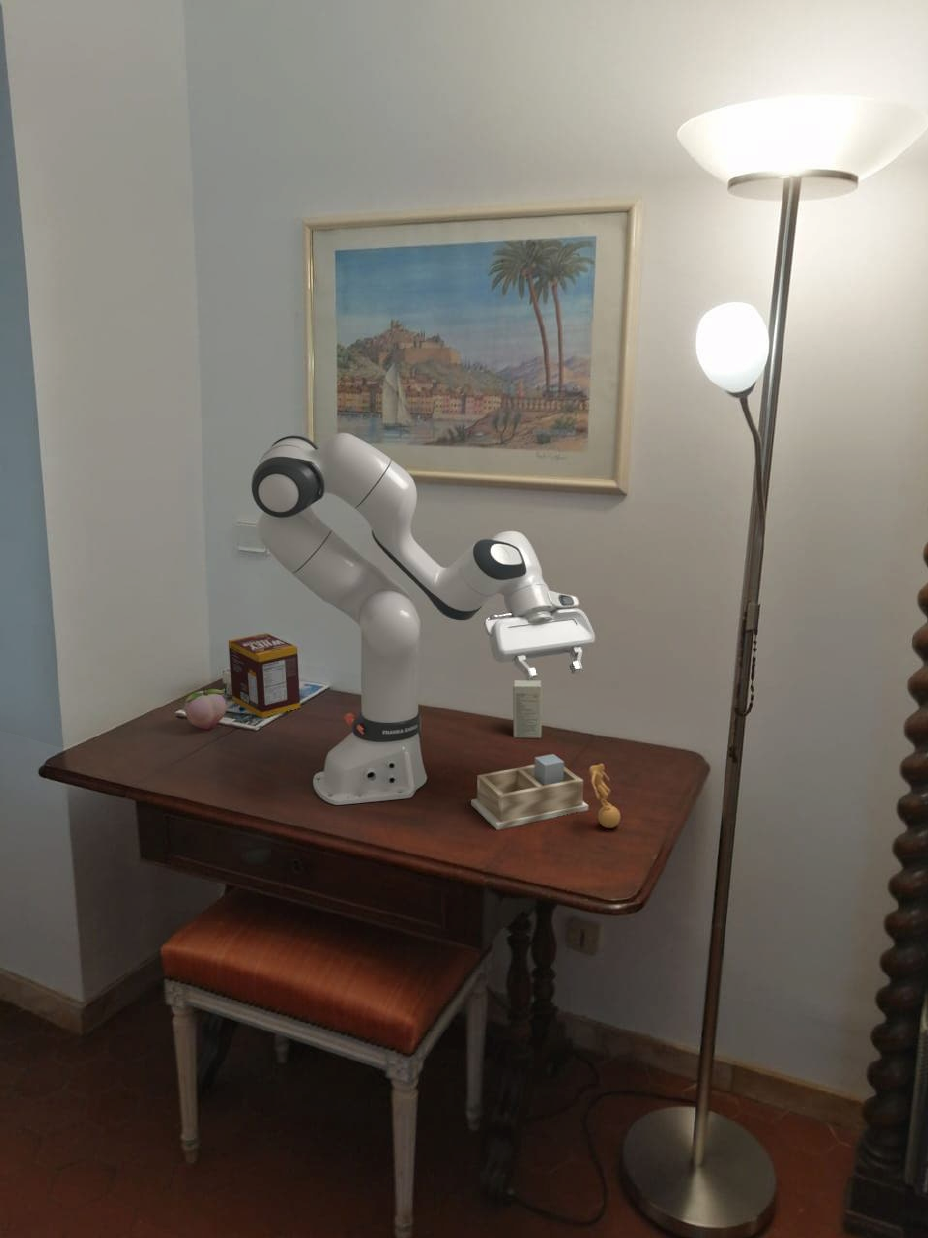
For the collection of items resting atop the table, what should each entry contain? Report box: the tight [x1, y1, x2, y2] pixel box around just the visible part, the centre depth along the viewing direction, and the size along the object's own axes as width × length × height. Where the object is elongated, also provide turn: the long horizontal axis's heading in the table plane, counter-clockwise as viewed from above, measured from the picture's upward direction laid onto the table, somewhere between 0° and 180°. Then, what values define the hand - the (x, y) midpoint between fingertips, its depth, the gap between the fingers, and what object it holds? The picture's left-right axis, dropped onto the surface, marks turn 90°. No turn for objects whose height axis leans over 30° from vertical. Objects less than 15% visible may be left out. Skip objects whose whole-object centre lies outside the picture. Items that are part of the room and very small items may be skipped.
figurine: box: [588, 763, 621, 829], centre depth 175 cm, size 8×6×12 cm
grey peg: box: [534, 753, 565, 786], centre depth 183 cm, size 4×4×8 cm
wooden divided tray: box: [470, 764, 589, 831], centre depth 182 cm, size 19×11×6 cm, turn 114°
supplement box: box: [228, 632, 301, 719], centre depth 233 cm, size 10×15×16 cm
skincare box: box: [512, 679, 543, 739], centre depth 216 cm, size 6×4×12 cm
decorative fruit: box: [184, 687, 228, 730], centre depth 218 cm, size 9×8×10 cm
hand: (555, 675), depth 177 cm, fingers open, 8 cm apart
